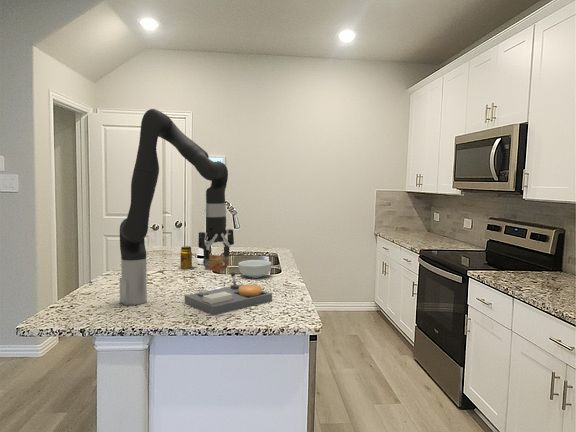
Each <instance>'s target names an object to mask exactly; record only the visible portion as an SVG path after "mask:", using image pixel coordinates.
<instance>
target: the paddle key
mask: <svg viewBox="0 0 576 432" xmlns="http://www.w3.org/2000/svg"><path fill="white" fill-rule="evenodd" d="M228 300H233V294H230V293H227V292H220V293H215V294H210V295H205V296H203V301H204V302H207V303H209V304H215V303H219V302H224V301H228Z"/></svg>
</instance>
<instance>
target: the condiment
mask: <svg viewBox="0 0 576 432" xmlns="http://www.w3.org/2000/svg"><path fill="white" fill-rule="evenodd" d="M180 248H181V249H180V267H179V268H178V270H186V271H187V270H188V271H190V270H193V269H195V268H197V266H193V251H192V247H191V246H188V245H187V246H186V245H185V246H182V247H180Z"/></svg>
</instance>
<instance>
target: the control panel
mask: <svg viewBox="0 0 576 432" xmlns="http://www.w3.org/2000/svg"><path fill="white" fill-rule="evenodd" d="M242 285H243V284H236V285H234V284H232V285H230V286H227V287H222V288H216V289H211V290H208V295H210V294H215V293H220V292H227V293H230V294H233V300H228V301H224V302H219V303H215V304H209V303H207V302H204V301H203V296H199V292H195V293H189V294H185V295H184V304H186V305H188V306H191V307H194V308H196V309H198V310H200V311H202V310H203V311H202V312H205V313H207V312H208V314H209V313H210V314H209V315H213V316H215V315H220V314H224V313H227V312H232V311H235V310H236V311H237V310H239V309H240V310H241V309H245V308H248V307H252V306H256V305H260V304H265V303H269V302H273V293H271V292H268V291H265V290H262V294H261V295H258V296H242V295H239V287H240V286H242Z"/></svg>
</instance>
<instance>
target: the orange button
mask: <svg viewBox="0 0 576 432" xmlns="http://www.w3.org/2000/svg"><path fill="white" fill-rule="evenodd" d="M262 288H263V287H262V286H261V285H258V284H242V286H240V287H239V295H242V296H258V295H261V294H262V291H263V289H262Z"/></svg>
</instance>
